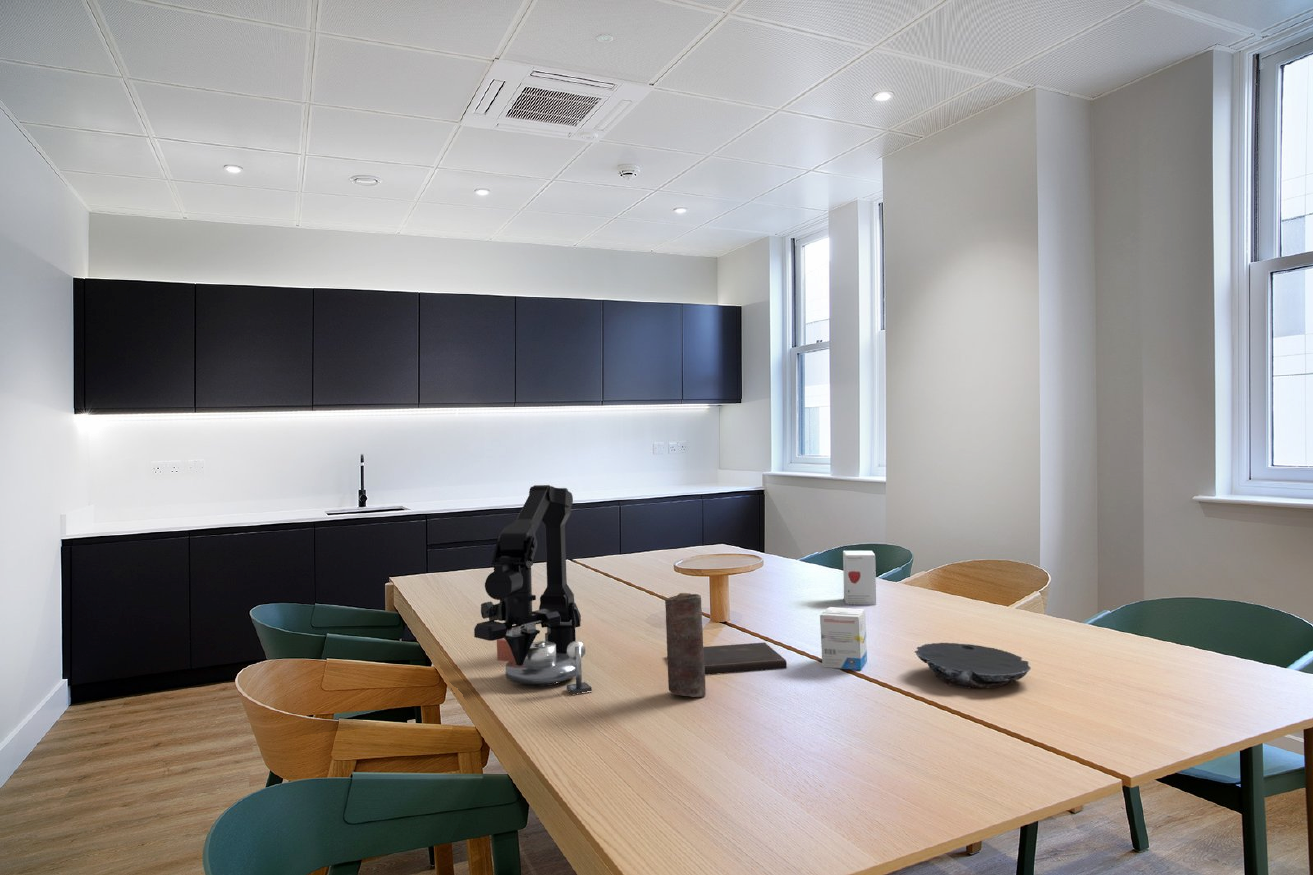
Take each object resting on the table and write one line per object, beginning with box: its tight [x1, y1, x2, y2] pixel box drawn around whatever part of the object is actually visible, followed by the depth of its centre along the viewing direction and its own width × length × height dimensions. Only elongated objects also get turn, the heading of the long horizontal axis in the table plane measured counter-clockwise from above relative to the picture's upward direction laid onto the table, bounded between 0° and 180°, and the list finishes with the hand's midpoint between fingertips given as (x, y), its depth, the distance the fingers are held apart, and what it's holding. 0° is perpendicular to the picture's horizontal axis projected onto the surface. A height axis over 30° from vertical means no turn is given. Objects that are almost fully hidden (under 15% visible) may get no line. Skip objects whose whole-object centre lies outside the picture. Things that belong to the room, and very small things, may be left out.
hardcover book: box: [703, 642, 788, 675], centre depth 179 cm, size 16×23×2 cm
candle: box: [664, 592, 707, 698], centre depth 157 cm, size 8×7×20 cm
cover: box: [523, 640, 556, 669], centre depth 170 cm, size 7×7×5 cm
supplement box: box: [842, 550, 877, 606], centre depth 239 cm, size 9×9×15 cm
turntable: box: [496, 638, 576, 685], centre depth 171 cm, size 16×16×6 cm
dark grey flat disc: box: [913, 642, 1032, 691], centre depth 163 cm, size 22×22×5 cm
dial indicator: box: [566, 640, 593, 695], centre depth 163 cm, size 4×6×10 cm, turn 24°
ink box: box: [819, 606, 868, 671], centre depth 175 cm, size 9×8×12 cm
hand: (519, 665), depth 166 cm, fingers closed
